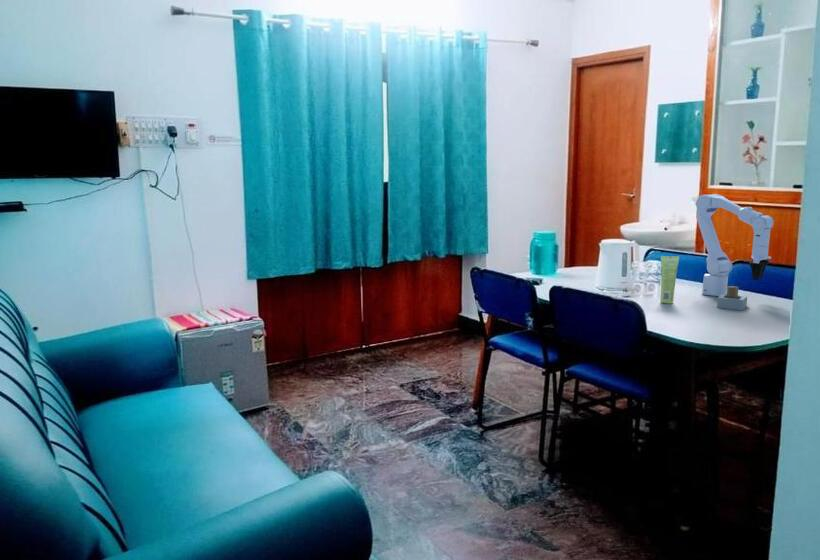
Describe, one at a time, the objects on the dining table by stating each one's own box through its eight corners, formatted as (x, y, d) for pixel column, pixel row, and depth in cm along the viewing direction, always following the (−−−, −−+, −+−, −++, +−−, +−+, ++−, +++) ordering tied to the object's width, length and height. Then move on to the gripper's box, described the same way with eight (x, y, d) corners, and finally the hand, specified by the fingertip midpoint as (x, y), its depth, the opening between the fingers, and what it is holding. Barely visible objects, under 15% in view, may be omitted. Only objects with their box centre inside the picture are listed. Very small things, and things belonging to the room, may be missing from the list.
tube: (664, 300, 266) (667, 254, 263) (676, 302, 263) (679, 256, 259) (657, 302, 263) (660, 256, 259) (669, 304, 259) (672, 257, 255)
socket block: (716, 307, 253) (717, 297, 253) (722, 303, 260) (722, 293, 260) (741, 310, 248) (742, 300, 247) (746, 306, 255) (747, 296, 254)
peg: (724, 306, 254) (725, 287, 253) (727, 305, 257) (728, 285, 256) (735, 308, 251) (736, 288, 250) (738, 306, 254) (739, 286, 253)
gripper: (768, 248, 250) (765, 282, 252) (774, 244, 261) (771, 276, 263) (748, 247, 254) (745, 280, 256) (755, 243, 265) (752, 274, 268)
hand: (757, 278), depth 260 cm, fingers open, 7 cm apart
